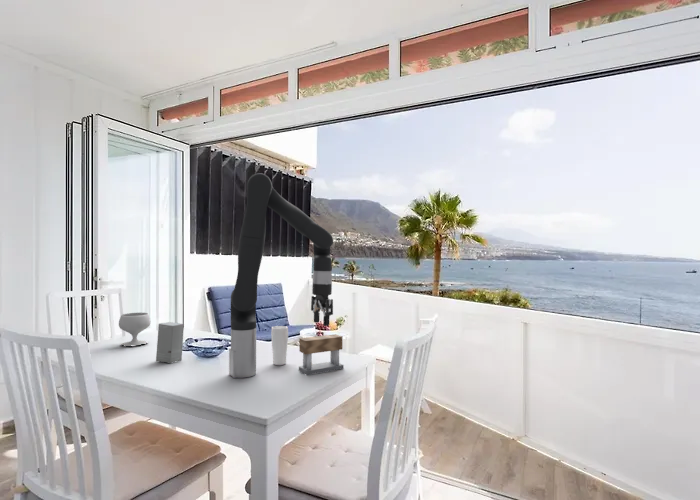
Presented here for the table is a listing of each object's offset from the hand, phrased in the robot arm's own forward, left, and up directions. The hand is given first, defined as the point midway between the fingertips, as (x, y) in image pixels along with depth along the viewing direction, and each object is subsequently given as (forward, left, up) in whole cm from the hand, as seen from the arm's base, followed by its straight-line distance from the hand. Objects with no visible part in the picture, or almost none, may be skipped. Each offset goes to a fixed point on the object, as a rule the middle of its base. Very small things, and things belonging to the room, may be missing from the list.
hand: (321, 324), depth 159 cm
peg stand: (0, 0, -18) cm, 18 cm away
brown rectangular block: (0, 0, -10) cm, 10 cm away
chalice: (-60, +86, -18) cm, 106 cm away
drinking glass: (-11, +16, -18) cm, 26 cm away
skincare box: (-49, +44, -18) cm, 68 cm away
